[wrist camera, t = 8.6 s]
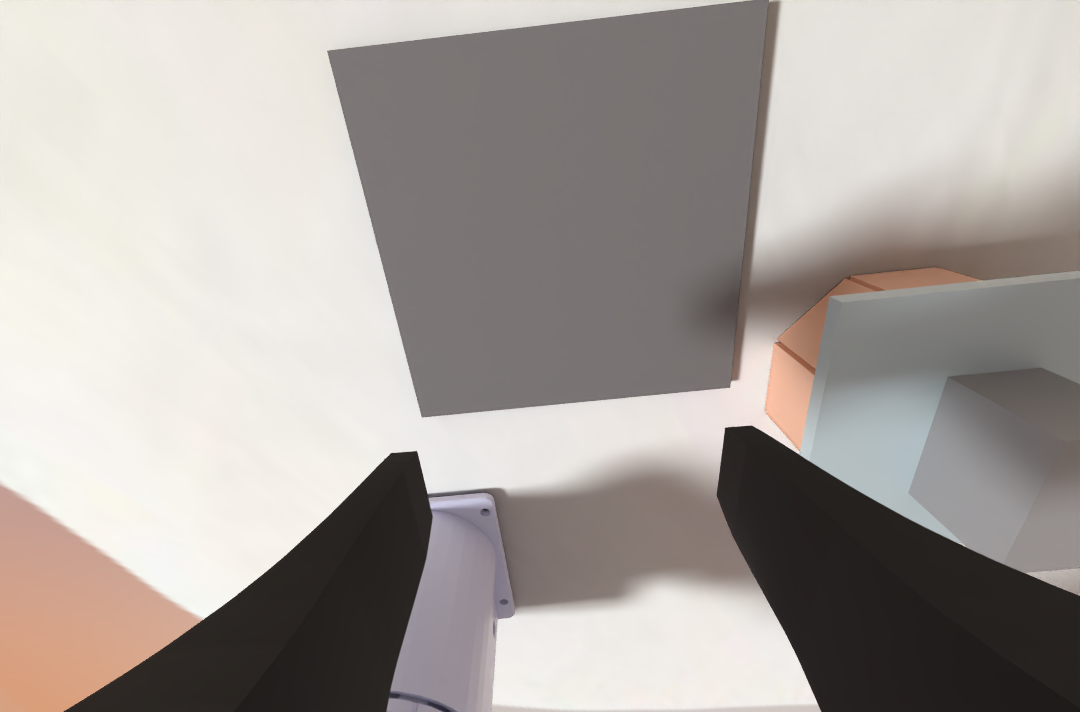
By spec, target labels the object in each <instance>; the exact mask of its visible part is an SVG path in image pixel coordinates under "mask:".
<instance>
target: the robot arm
mask: <svg viewBox="0 0 1080 712" xmlns="http://www.w3.org/2000/svg"><path fill="white" fill-rule="evenodd" d="M717 497H718V500H719V503H720V505H721V508H722V511H723V513H724V516H725V519H726V521H727V523H728V526H729V528H730V531H731V533H732V536H733V538H734V540H735V541H736V543H737V545H738V547H739V549H740V551H741V553H742V555H743V556H744V558H745V560H746V562H747V564H748V566H749V568H750V569H751V571H752V573H753V575H754V577H755V579H756V580H757V582H758V584H759V586H760V588H761V589H762V591H763V593H764V595H765V597H766V599H767V600H768V602H769V604H770V606H771V608H772V610H773V611H774V613H775V615H776V617H777V619H778V620H779V622H780V624H781V626H782V628H783V630H784V631H785V633H786V635H787V637H788V639H789V641H790V643H791V645H792V647H793V649H794V651H795V653H796V655H797V657H798V659H799V662H800V664H801V666H802V668H803V671H804V673H805V675H806V678H807V680H808V682H809V684H810V687H811V689H812V691H813V694H814V696H815V698H816V700H817V703H818V705H819V707H820V710H821V712H1080V596H1078V595H1076V594H1073V593H1071V592H1068V591H1066V590H1063V589H1061V588H1058V587H1056V586H1053V585H1051V584H1049V583H1046V582H1044V581H1042V580H1039V579H1037V578H1035V577H1032V576H1030V575H1028V574H1025V573H1023V572H1021V571H1018V570H1016V569H1014V568H1011V567H1009V566H1007V565H1004V564H1002V563H999V562H997V561H995V560H993V559H991V558H988V557H986V556H984V555H982V554H980V553H977V552H975V551H973V550H971V549H969V548H967V547H964V546H962V545H960V544H958V543H956V542H954V541H952V540H950V539H948V538H946V537H944V536H942V535H940V534H938V533H936V532H934V531H932V530H930V529H928V528H926V527H924V526H922V525H920V524H918V523H916V522H914V521H912V520H910V519H908V518H906V517H904V516H902V515H901V514H899V513H897V512H895V511H893V510H891V509H890V508H888V507H886V506H884V505H883V504H881V503H879V502H877V501H875V500H874V499H872V498H870V497H868V496H866V495H865V494H863V493H861V492H859V491H858V490H856V489H854V488H853V487H851V486H849V485H847V484H846V483H844V482H842V481H841V480H839V479H837V478H836V477H834V476H833V475H831V474H829V473H828V472H826V471H824V470H823V469H821V468H820V467H818V466H816V465H815V464H813V463H812V462H810V461H808V460H807V459H805V458H804V457H802V456H800V455H799V454H797V453H796V452H794V451H793V450H791V449H789V448H788V447H786V446H785V445H783V444H782V443H780V442H778V441H777V440H775V439H774V438H772V437H770V436H769V435H767V434H765V433H764V432H762V431H760V430H759V429H757V428H755V427H753V426H741V427H728V428H725V434H724V442H723V450H722V458H721V466H720V474H719V482H718V490H717ZM483 509H488V511H485V510H483ZM514 613H515V605H514V600H513V595H512V590H511V585H510V579H509V574H508V569H507V564H506V559H505V553H504V548H503V543H502V538H501V533H500V527H499V522H498V517H497V512H496V507H495V501H494V498H493V496H491V495H490V494H488V493H476V494H466V495H455V496H444V497H433V498H428V494H427V490H426V486H425V482H424V478H423V474H422V470H421V466H420V461H419V457H418V453H417V451H414V452H401V453H391V454H390V455H389V456H388V457H387V458H386V459H385V460H384V461H383V462H382V463H381V464H380V465H379V466H378V467H377V468H376V469H375V470H374V471H373V472H372V473H371V474H370V475H369V476H368V477H367V478H366V479H365V480H364V481H363V482H362V483H361V484H360V485H359V486H358V487H357V488H356V489H355V490H354V491H353V492H352V493H351V494H350V495H349V496H348V497H347V498H346V499H345V500H344V501H343V502H342V503H341V504H340V505H339V506H338V507H337V508H336V509H335V510H334V511H333V512H332V513H331V514H330V515H329V516H328V517H327V518H326V519H325V520H324V521H323V522H322V523H321V524H319V525H318V526H317V527H316V528H315V529H314V530H313V531H312V532H311V533H310V534H309V535H307V536H306V537H305V538H304V539H303V540H302V541H301V542H300V543H299V544H298V545H297V546H295V547H294V548H293V549H292V550H291V551H290V552H289V553H288V554H287V555H286V556H284V557H283V558H282V559H281V560H280V561H279V562H277V563H276V564H275V565H274V566H273V567H271V568H270V569H269V570H268V571H267V572H265V573H264V574H263V575H262V576H260V577H259V578H258V579H257V580H255V581H254V582H253V583H252V584H250V585H249V586H248V587H247V588H245V589H244V590H243V591H242V592H240V593H239V594H238V595H237V596H235V597H234V598H233V599H231V600H230V601H229V602H227V603H226V604H225V605H223V606H222V607H221V608H219V609H218V610H216V611H215V612H214V613H212V614H211V615H209V616H208V617H207V618H205V619H204V620H202V621H201V622H200V623H198V624H197V625H195V626H194V627H193V628H191V629H190V630H188V631H187V632H186V633H184V634H183V635H181V636H180V637H179V638H177V639H176V640H174V641H173V642H172V643H170V644H169V645H167V646H166V647H164V648H163V649H161V650H160V651H158V652H157V653H155V654H154V655H152V656H151V657H149V658H148V659H146V660H145V661H143V662H142V663H140V664H139V665H137V666H136V667H134V668H133V669H131V670H130V671H128V672H127V673H125V674H123V675H122V676H120V677H119V678H117V679H116V680H114V681H112V682H111V683H109V684H108V685H106V686H104V687H103V688H101V689H100V690H98V691H96V692H95V693H93V694H92V695H90V696H88V697H87V698H85V699H84V700H82V701H80V702H79V703H77V704H75V705H74V706H72V707H71V708H69V709H67V710H66V711H64V712H491V710H492V696H493V681H494V666H495V652H496V637H497V622H498V619H502V618H510V617H512V616H513V615H514Z"/></svg>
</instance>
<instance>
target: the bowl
mask: <svg viewBox="0 0 1080 712" xmlns="http://www.w3.org/2000/svg"><path fill="white" fill-rule="evenodd" d="M973 281H982V280H979V279H975V278H972V277H969V276H965V275H962V274H959V273H955V272H952V271H949V270H945V269H942V268H939V267H931V268H921V269H912V270H902V271H892V272H882V273H873V274H863V275H853V276H850V280H848V279H846V278H845V279H844V280H843V281H841V282H840V283H839V284H838V285H837V286H836V287H835V288H834V289H832V290H831V291H830V292H829V293H828V294H827V295H826V296H825V297H823V298H822V299H821V300H820V301H819V302H818V303H817V304H816V305H814V306H813V307H812V308H811V309H810V310H809V311H808V312H807V313H805V314H804V315H803V316H802V317H801V318H800V319H799V320H798V321H796V322H795V323H794V324H793V325H792V326H791V327H790V328H789V329H787V330H786V331H785V332H784V333H783V334H782V335H781V336H780V337H778V338H777V339H778V340H779V341H780V343H774V350H773V357H772V364H771V371H770V378H769V385H768V392H767V399H766V406H765V411H766V412H767V413H766V414H767V415H768V416H769V417H770V418H771V419H772V421H773V422H774V423H775V424H776V425H777V426H778V427H779V429H780V430H781V431H782V432H783V433H784V434H785V435H786V436H787V438H788V439H789V440H790V441H791V442H792V443H793V444H794V446H795V447H796V448H797V449H798V450H799V451H800V449H801V444H802V438H803V433H804V428H805V423H806V417H807V412H808V407H809V402H810V396H811V391H812V386H813V381H814V375H815V370H816V365H817V360H818V354H819V349H820V344H821V339H822V334H823V328H824V323H825V318H826V313H827V307H828V302H829V297H830V296H837V295H847V294H857V293H866V292H876V291H886V290H896V289H905V288H915V287H925V286H934V285H944V284H954V283H963V282H973Z"/></svg>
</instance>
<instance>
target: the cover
mask: <svg viewBox="0 0 1080 712" xmlns="http://www.w3.org/2000/svg"><path fill="white" fill-rule="evenodd" d="M799 455H800V456H802V457H804V458H805V459H807V460H808V461H810V462H812V463H813V464H815V465H816V466H818V467H820V468H821V469H823V470H824V471H826V472H828V473H829V474H831V475H833V476H834V477H836V478H837V479H839V480H841V481H842V482H844V483H846V484H847V485H849V486H851V487H853V488H854V489H856V490H858V491H859V492H861V493H863V494H865V495H866V496H868V497H870V498H872V499H874V500H875V501H877V502H879V503H881V504H883V505H884V506H886V507H888V508H890V509H891V510H893V511H895V512H897V513H899V514H901V515H902V516H904V517H906V518H908V519H910V520H912V521H914V522H916V523H918V524H920V525H922V526H924V527H926V528H928V529H930V530H932V531H934V532H936V533H938V534H940V535H942V536H944V537H946V538H948V539H950V540H952V541H954V542H956V543H963V544H964V545H965V546H966V547H967V548H969V549H971V550H973V551H975V552H977V553H980V554H982V555H984V556H986V557H988V558H991V559H993V560H995V561H997V562H999V563H1002V564H1004V565H1007V566H1009V567H1011V568H1014V569H1016V570H1018V571H1021V572H1023V573H1026V572H1038V571H1050V570H1061V569H1073V568H1080V271H1070V272H1060V273H1051V274H1041V275H1031V276H1022V277H1012V278H1002V279H992V280H983V281H973V282H963V283H954V284H944V285H934V286H925V287H915V288H905V289H896V290H886V291H876V292H866V293H857V294H847V295H837V296H830V297H829V302H828V307H827V313H826V318H825V323H824V328H823V334H822V339H821V344H820V349H819V354H818V360H817V365H816V370H815V375H814V381H813V386H812V391H811V396H810V402H809V407H808V412H807V417H806V423H805V428H804V433H803V438H802V444H801V449H800V454H799Z"/></svg>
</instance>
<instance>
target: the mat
mask: <svg viewBox="0 0 1080 712" xmlns="http://www.w3.org/2000/svg"><path fill="white" fill-rule="evenodd" d="M768 2H769V0H752V1H743V2H735V3H726V4H718V5H710V6H701V7H693V8H684V9H676V10H667V11H659V12H650V13H642V14H634V15H625V16H617V17H608V18H600V19H591V20H583V21H575V22H566V23H558V24H549V25H541V26H532V27H524V28H515V29H507V30H499V31H490V32H482V33H473V34H465V35H456V36H448V37H440V38H431V39H423V40H414V41H406V42H397V43H389V44H381V45H372V46H364V47H355V48H347V49H338V50H330V51H327V52H328V56H329V60H330V64H331V67H332V71H333V75H334V79H335V83H336V87H337V91H338V95H339V98H340V102H341V106H342V110H343V114H344V118H345V122H346V125H347V129H348V133H349V137H350V141H351V145H352V149H353V153H354V156H355V160H356V164H357V168H358V172H359V176H360V180H361V184H362V187H363V191H364V195H365V199H366V203H367V207H368V211H369V214H370V218H371V222H372V226H373V230H374V234H375V238H376V242H377V245H378V249H379V253H380V257H381V261H382V265H383V269H384V273H385V276H386V280H387V284H388V288H389V292H390V296H391V300H392V303H393V307H394V311H395V315H396V319H397V323H398V327H399V331H400V334H401V338H402V342H403V346H404V350H405V354H406V358H407V362H408V365H409V369H410V373H411V377H412V381H413V385H414V389H415V392H416V396H417V400H418V404H419V408H420V412H421V416H422V417H431V416H441V415H452V414H462V413H472V412H483V411H493V410H503V409H514V408H524V407H534V406H545V405H555V404H565V403H576V402H586V401H596V400H606V399H617V398H627V397H637V396H648V395H658V394H668V393H679V392H689V391H699V390H710V389H720V388H730V383H731V373H732V363H733V353H734V343H735V333H736V323H737V313H738V303H739V293H740V283H741V273H742V263H743V253H744V243H745V233H746V223H747V213H748V203H749V193H750V183H751V173H752V163H753V153H754V143H755V133H756V123H757V112H758V102H759V92H760V82H761V72H762V62H763V52H764V42H765V32H766V22H767V12H768Z"/></svg>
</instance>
